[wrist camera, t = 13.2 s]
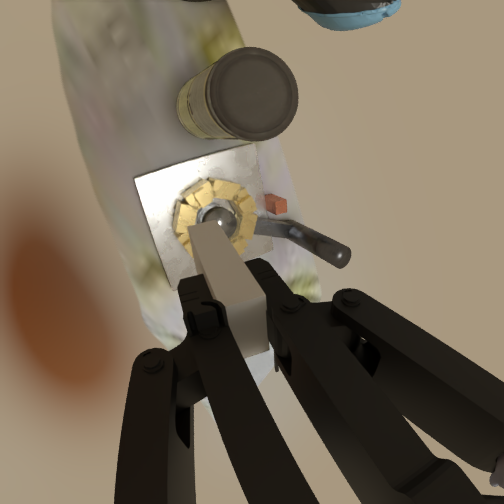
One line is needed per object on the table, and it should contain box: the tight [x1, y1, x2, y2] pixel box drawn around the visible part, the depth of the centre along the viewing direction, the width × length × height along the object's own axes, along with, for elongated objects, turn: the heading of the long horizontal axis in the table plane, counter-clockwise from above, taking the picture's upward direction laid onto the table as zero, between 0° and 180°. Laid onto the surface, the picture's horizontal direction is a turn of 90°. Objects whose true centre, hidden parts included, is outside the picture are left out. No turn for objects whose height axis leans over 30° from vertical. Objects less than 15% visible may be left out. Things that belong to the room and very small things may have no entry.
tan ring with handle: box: [172, 177, 351, 269], centre depth 39 cm, size 21×12×13 cm, turn 75°
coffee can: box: [176, 47, 298, 141], centre depth 32 cm, size 10×10×14 cm
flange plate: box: [134, 143, 287, 291], centre depth 42 cm, size 18×20×6 cm
